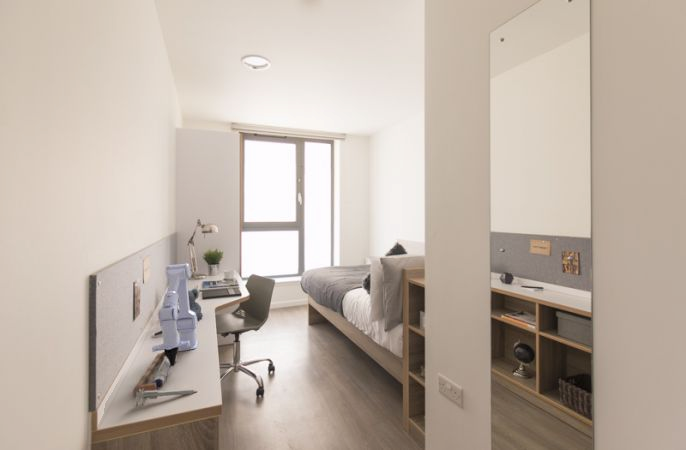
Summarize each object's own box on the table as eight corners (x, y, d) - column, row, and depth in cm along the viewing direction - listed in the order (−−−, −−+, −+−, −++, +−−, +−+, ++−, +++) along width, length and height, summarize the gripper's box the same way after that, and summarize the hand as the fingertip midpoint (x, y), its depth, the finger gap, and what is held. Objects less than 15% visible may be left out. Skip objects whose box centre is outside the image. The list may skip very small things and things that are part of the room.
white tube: (149, 380, 132) (164, 346, 156) (151, 395, 134) (166, 359, 157) (164, 377, 134) (176, 344, 157) (166, 392, 135) (178, 357, 159)
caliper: (136, 407, 121) (134, 391, 121) (136, 406, 122) (135, 389, 122) (197, 392, 129) (195, 377, 128) (197, 391, 130) (196, 375, 129)
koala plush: (200, 312, 227) (197, 284, 226) (208, 319, 213) (205, 288, 212) (172, 319, 217) (169, 289, 215) (179, 326, 202) (175, 294, 201)
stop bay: (158, 358, 160) (157, 352, 160) (175, 356, 162) (175, 350, 161) (134, 395, 129) (133, 388, 129) (155, 391, 131) (154, 384, 130)
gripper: (148, 340, 140) (151, 371, 141) (186, 335, 143) (189, 365, 144) (153, 334, 147) (156, 364, 148) (189, 329, 150) (192, 358, 151)
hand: (173, 364), depth 146 cm, fingers closed
